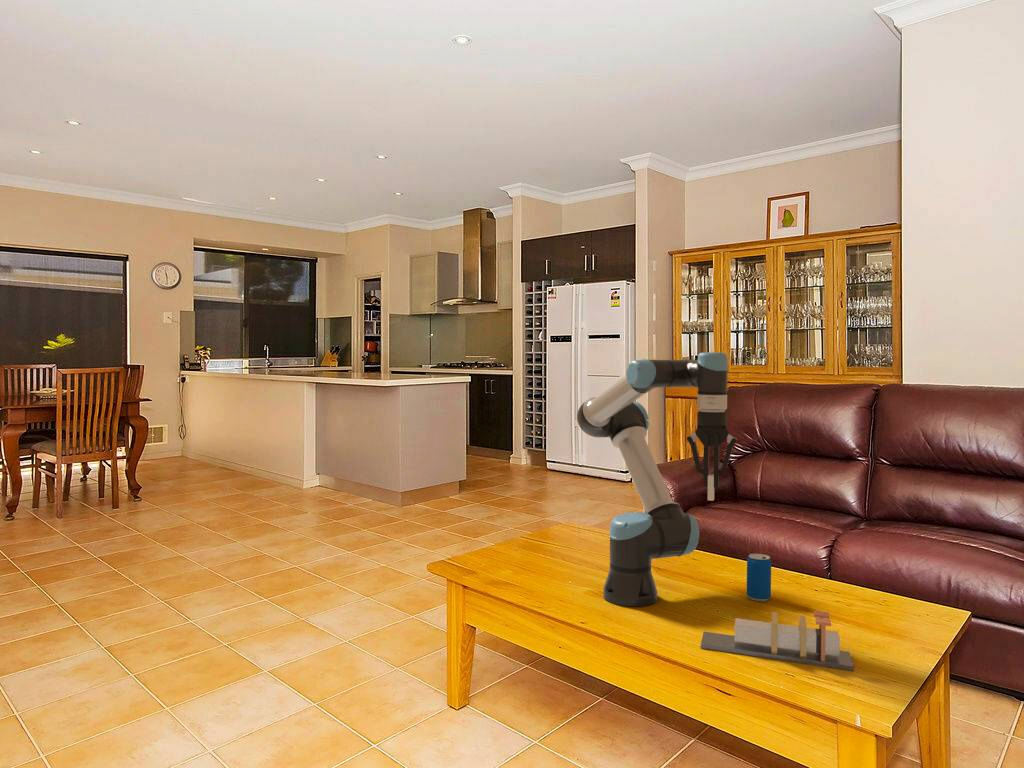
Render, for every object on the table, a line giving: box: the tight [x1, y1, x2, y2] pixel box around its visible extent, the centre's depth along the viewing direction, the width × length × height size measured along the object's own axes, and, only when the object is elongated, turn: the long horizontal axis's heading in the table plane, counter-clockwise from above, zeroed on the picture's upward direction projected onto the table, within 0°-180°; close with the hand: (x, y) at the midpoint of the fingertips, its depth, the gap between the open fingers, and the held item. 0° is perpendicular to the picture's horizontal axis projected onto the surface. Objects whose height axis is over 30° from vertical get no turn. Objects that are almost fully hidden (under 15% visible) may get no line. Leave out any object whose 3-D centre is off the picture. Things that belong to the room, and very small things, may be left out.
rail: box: [700, 611, 855, 672], centre depth 156 cm, size 32×8×8 cm, turn 69°
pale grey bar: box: [734, 617, 841, 656], centre depth 155 cm, size 22×4×4 cm, turn 69°
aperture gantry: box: [813, 610, 832, 661], centre depth 152 cm, size 3×7×9 cm, turn 159°
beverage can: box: [746, 553, 772, 602], centre depth 192 cm, size 6×6×12 cm
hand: (710, 499), depth 179 cm, fingers closed
